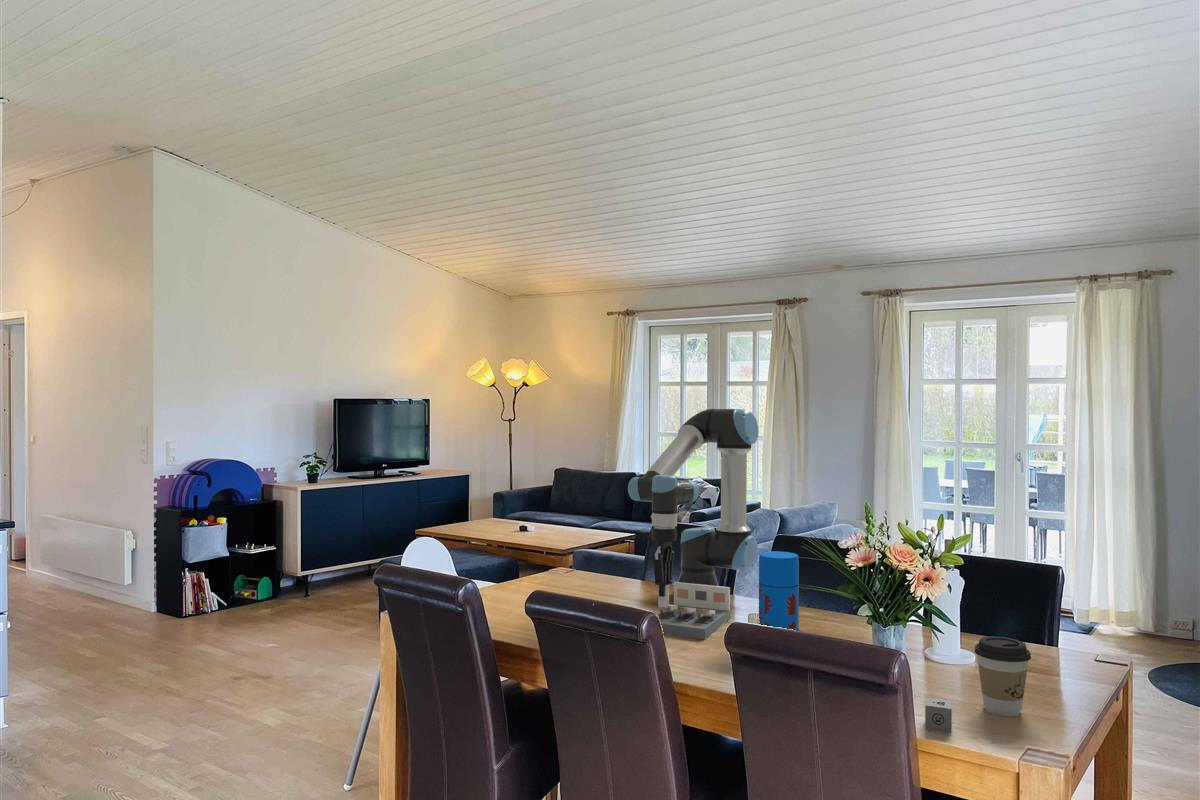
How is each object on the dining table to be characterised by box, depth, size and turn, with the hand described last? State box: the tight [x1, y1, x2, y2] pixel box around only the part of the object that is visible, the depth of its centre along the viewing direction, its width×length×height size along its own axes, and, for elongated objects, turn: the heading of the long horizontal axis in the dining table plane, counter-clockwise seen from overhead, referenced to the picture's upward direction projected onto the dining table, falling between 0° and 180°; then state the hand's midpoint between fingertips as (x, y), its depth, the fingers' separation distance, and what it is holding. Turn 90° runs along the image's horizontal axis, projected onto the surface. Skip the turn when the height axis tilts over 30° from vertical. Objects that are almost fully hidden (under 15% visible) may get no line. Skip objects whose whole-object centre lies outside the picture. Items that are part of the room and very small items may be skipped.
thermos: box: [758, 550, 800, 631], centre depth 234 cm, size 11×11×25 cm
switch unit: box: [657, 581, 731, 641], centre depth 254 cm, size 24×18×10 cm
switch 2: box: [678, 607, 696, 612], centre depth 252 cm, size 8×3×1 cm, turn 154°
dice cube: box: [924, 697, 953, 734], centre depth 176 cm, size 5×5×5 cm
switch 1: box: [658, 604, 677, 611], centre depth 255 cm, size 8×3×1 cm, turn 155°
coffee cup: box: [973, 635, 1032, 718], centre depth 185 cm, size 11×11×15 cm
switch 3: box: [697, 609, 715, 615], centre depth 250 cm, size 8×3×1 cm, turn 155°
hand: (663, 606), depth 252 cm, fingers closed, pressing on switch 1
